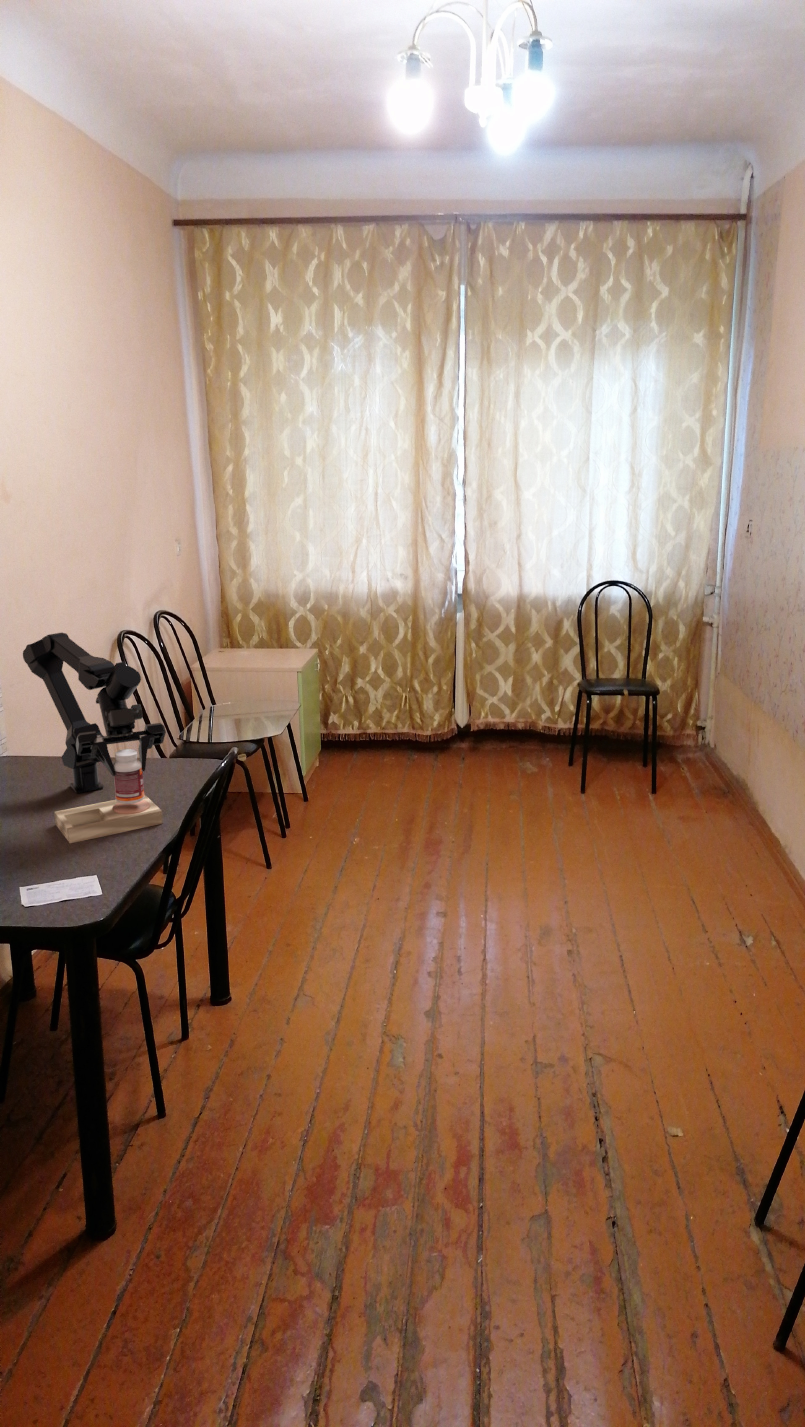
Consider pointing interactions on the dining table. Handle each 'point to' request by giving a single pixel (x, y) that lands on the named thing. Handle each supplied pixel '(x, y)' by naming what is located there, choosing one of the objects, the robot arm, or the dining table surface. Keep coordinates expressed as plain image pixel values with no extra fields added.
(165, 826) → the dining table surface
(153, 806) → the board
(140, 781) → the pill bottle
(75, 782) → the robot arm
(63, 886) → the dining table surface
